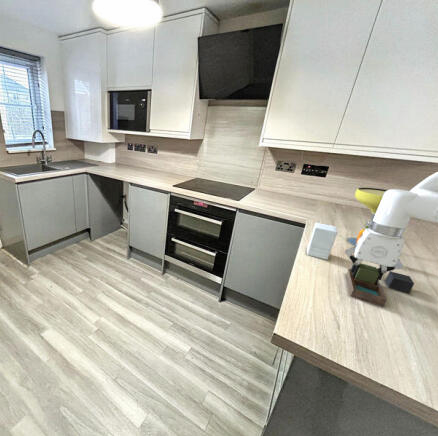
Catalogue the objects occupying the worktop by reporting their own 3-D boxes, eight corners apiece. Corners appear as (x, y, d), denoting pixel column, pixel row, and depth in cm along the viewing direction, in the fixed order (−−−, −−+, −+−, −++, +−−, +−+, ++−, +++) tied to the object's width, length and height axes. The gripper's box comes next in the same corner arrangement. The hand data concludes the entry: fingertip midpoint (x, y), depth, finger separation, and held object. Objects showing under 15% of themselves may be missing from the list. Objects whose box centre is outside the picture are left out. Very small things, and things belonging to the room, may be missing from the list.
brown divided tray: (374, 282, 82) (377, 276, 81) (383, 306, 71) (386, 299, 70) (346, 274, 86) (348, 268, 85) (350, 296, 75) (353, 289, 74)
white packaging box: (326, 253, 101) (336, 226, 96) (327, 260, 95) (338, 232, 91) (306, 247, 105) (315, 221, 100) (306, 254, 99) (315, 227, 94)
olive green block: (371, 277, 81) (376, 267, 80) (374, 284, 77) (379, 274, 76) (353, 271, 84) (357, 262, 82) (355, 278, 80) (359, 268, 78)
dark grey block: (404, 285, 81) (409, 276, 80) (408, 293, 77) (414, 283, 76) (385, 280, 84) (389, 271, 82) (388, 287, 80) (393, 277, 78)
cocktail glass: (394, 248, 108) (420, 195, 99) (378, 257, 99) (405, 200, 90) (348, 232, 122) (367, 186, 113) (331, 239, 114) (349, 189, 105)
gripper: (353, 225, 75) (333, 273, 82) (429, 241, 66) (401, 293, 73) (350, 219, 81) (332, 264, 88) (420, 232, 72) (394, 281, 79)
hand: (364, 276), depth 80 cm, fingers closed on olive green block, 5 cm apart
